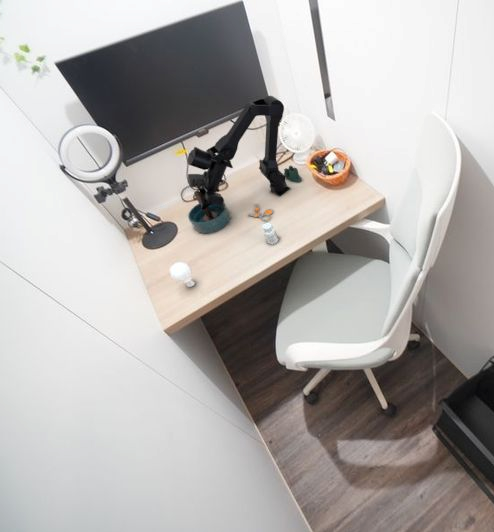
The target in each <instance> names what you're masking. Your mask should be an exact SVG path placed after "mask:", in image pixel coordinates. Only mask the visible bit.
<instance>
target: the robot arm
mask: <svg viewBox="0 0 494 532" xmlns="http://www.w3.org/2000/svg"><path fill="white" fill-rule="evenodd" d="M284 111H285V106H284V104H283V102H282V101H281V100H279V99H278V98H276V97H275V96H273V95H267V96H266V97H264V98H258V99H256V100H253V101H247V102H246V103H245V105H244V108H243V109H242V110H241V112H240V114H239V115H238V117H237V118H236V120H235V121H234V122H233V124H232V126H231V127H230V129H229V131H228V132H227V133H226V134H224V135H223V136H221V137H220V138H219V139H218V140H217V141H216V142H215V144H214V145H213V146H211V147H210V148H208V149H206V150H203V149H201V148H199V147H197V146H194V147H193V149H191V151H190V152H189V153H188V156H187V164H188V166H191V167H194V168H197V169H200V170H203V173H202V174H201V173H188V174H187V183H188V185H189V186H190V187H191V188H197V191H199V192H200V193H201V195H202V196H203V202H202V206H200V204H199V203H198V204H199V206H200V207H201V209H202V210H205V209H206V208H207V207H208V206H210V205H211V204H212V203H217V204H221V205H223V202H224V203H225V198H224V197H223V196H222V195H221V193H220V188H219V187H220V185H221V184H223V183H224V179H223V177H224V175H225V172H226V170H227V168H230V169H233V168H234V166H233V165H232V162H231V161H232V160H233V159H234V158H235V155H236V154H237V151H238V149H239V143H240V141H241V139H242V138H243V137H244V135H245V133H246V132H247V131H248V129H249V128H250V126H251V125H252V123H253V121H254V120H255V119H256V117H258V116H259V117H261V116H264V117H265V122H266V123H265V143H264V144H265V145H264V146H265V147H264V157H263V159H259V167H258V170H260V171H259V172H260V174H262V175H263V177H264V178H265V179H267V180H268V182H269V188H270V192H271V193H272V194H275V195H277V196H278V197H281V196H282V195H283V194H285V193H287V192H288V191H289V190H290V189H291V188H290V186H288V184H287V181H286V177H285V175H284V173H283V172H282V171H280V170H279V165H278V162H277V153H278V152H277V151H278V137H279V124H280V122H281V121H282V119H283V116H284ZM215 191H216V192H215Z"/></svg>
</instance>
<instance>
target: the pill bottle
mask: <svg viewBox="0 0 494 532" xmlns="http://www.w3.org/2000/svg"><path fill="white" fill-rule="evenodd" d="M262 230H263V236H264V237H265V240H266V242H267V244H269V245H274V244H275V245H276V243H278V241H279V237H278V234H277V232H276V231H277V230H276V229H275V227H274V226H273V225H272V223H270V222H266V223H264V224H263V225H262Z"/></svg>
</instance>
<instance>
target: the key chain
mask: <svg viewBox="0 0 494 532" xmlns="http://www.w3.org/2000/svg"><path fill="white" fill-rule="evenodd" d="M254 207H255V208H254V211H255V213H248V216H250V217H254V218H260V219H261V220H263V221H264V222H268V221H269V220H270V219H271V218H272V216H271V215H272V214H273V210H272V209H267V210H265V211H264V213H262V212H259V213H257V212H258V211H259V210H260V207H259V205H258V204H257V203H255V204H254ZM264 216H268V218H267V219H265V218H263V217H264Z"/></svg>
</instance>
